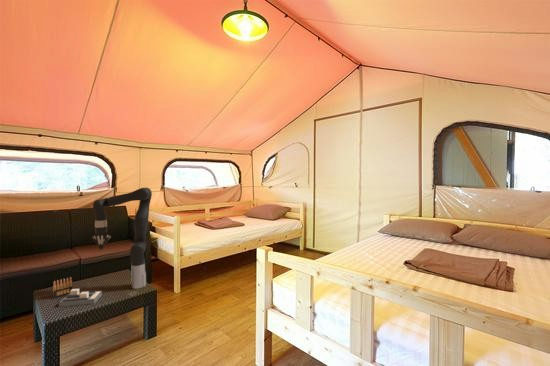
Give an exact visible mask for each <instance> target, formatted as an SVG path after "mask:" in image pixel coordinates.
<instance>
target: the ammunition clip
mask: <svg viewBox="0 0 550 366" xmlns="http://www.w3.org/2000/svg"><path fill="white" fill-rule="evenodd" d="M72 289H73V280H72V277H71V276H70V277H66V279H65V278H63V280H62V278H60V280H59V279H57V280H54V281H53V285H52V298H53V299H57V298H60V297H65V296H67V295H68V294H70V291H71V290H72Z"/></svg>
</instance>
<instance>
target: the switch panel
mask: <svg viewBox="0 0 550 366" xmlns="http://www.w3.org/2000/svg"><path fill="white" fill-rule="evenodd" d="M88 291H89V297H88V298H80V293H81V292H88ZM102 294H103V291H102V290H96V289H94V290H82V291H81V290H79V294H78V295H70V294H68V295H65V296H63V298H62V299H60V301H58V307H59V308H61V307H62V308H64V307H72V306H73V307H74V306H82V305H92V304H93V305H94V304H96V302H97V301H98V300H99V299H100V298H101V297H102Z"/></svg>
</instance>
